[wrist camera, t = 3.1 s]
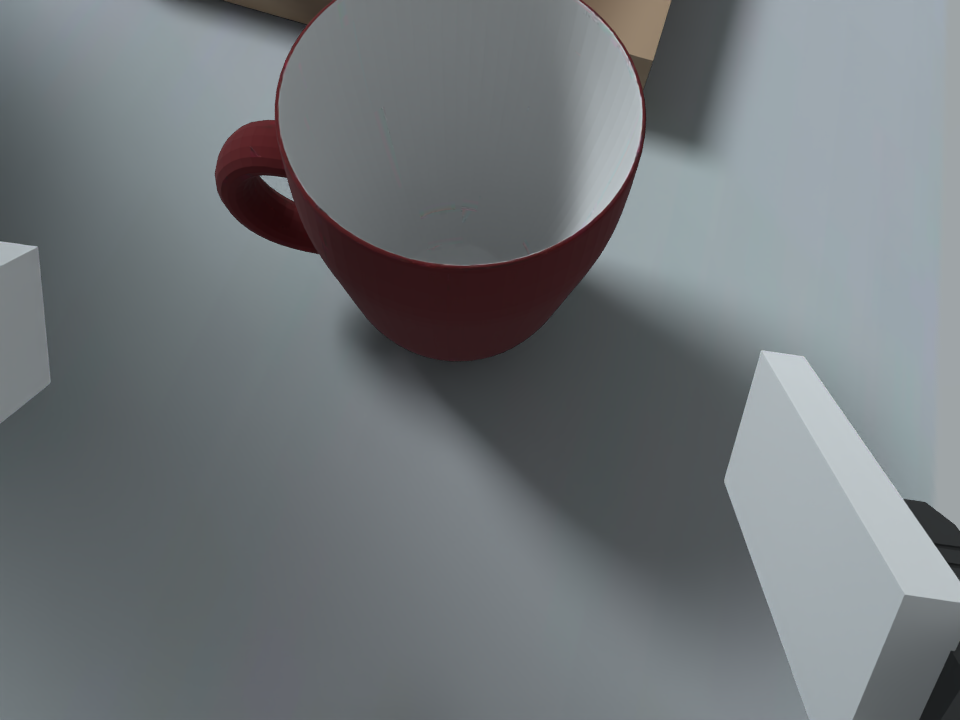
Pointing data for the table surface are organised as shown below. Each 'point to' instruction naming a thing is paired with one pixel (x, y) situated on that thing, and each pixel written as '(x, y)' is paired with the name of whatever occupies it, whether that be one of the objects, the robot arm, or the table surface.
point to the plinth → (621, 3)
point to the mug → (446, 161)
